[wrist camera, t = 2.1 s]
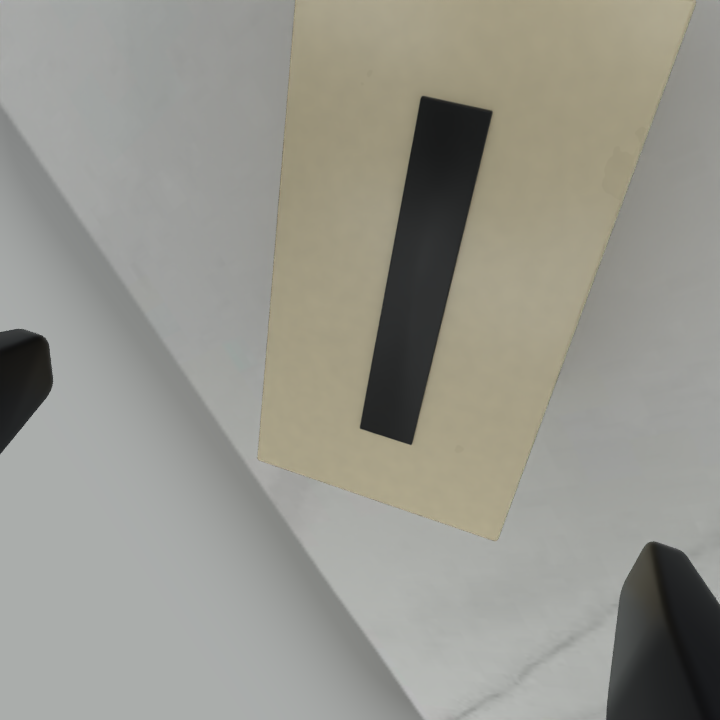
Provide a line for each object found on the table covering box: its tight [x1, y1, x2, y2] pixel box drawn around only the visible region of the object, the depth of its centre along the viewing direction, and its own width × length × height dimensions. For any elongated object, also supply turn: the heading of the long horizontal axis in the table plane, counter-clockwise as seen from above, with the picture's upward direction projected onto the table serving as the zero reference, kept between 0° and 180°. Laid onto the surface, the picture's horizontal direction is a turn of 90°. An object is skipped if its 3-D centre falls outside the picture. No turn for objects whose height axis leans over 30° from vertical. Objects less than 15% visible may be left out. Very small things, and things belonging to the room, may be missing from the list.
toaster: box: [257, 0, 696, 541], centre depth 16 cm, size 6×11×7 cm, turn 171°
